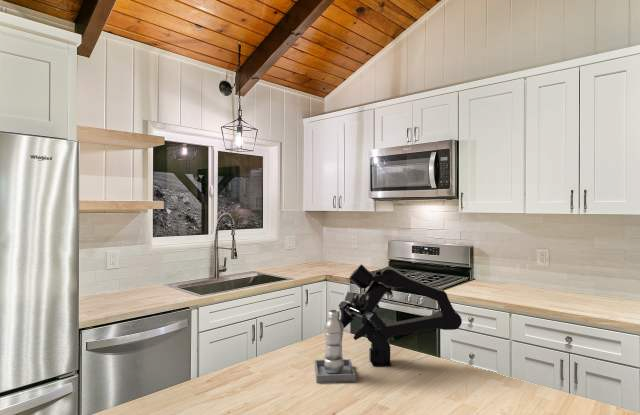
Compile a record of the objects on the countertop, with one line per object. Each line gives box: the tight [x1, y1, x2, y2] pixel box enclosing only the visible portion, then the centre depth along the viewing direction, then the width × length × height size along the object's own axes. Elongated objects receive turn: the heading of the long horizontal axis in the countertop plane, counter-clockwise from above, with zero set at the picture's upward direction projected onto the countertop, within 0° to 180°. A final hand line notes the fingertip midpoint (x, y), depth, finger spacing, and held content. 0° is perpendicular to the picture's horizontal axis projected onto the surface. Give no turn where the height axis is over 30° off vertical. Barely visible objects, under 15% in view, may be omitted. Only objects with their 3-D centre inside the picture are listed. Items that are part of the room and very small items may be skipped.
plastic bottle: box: [323, 309, 345, 374], centre depth 133 cm, size 6×7×20 cm
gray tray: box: [314, 358, 357, 384], centre depth 133 cm, size 12×12×2 cm
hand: (345, 335), depth 135 cm, fingers open, 9 cm apart
